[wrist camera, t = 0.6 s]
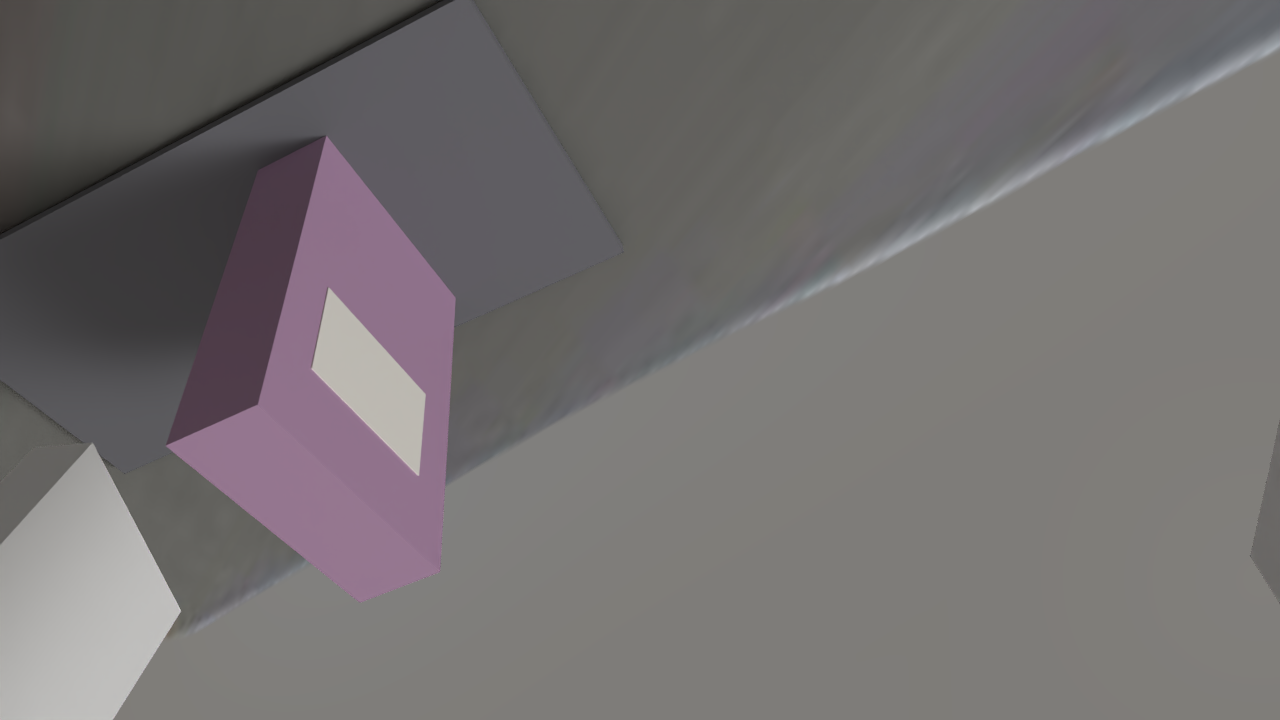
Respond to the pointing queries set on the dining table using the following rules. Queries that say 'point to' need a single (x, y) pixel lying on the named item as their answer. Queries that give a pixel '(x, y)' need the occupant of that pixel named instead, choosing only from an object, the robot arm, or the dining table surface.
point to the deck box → (327, 378)
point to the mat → (217, 197)
